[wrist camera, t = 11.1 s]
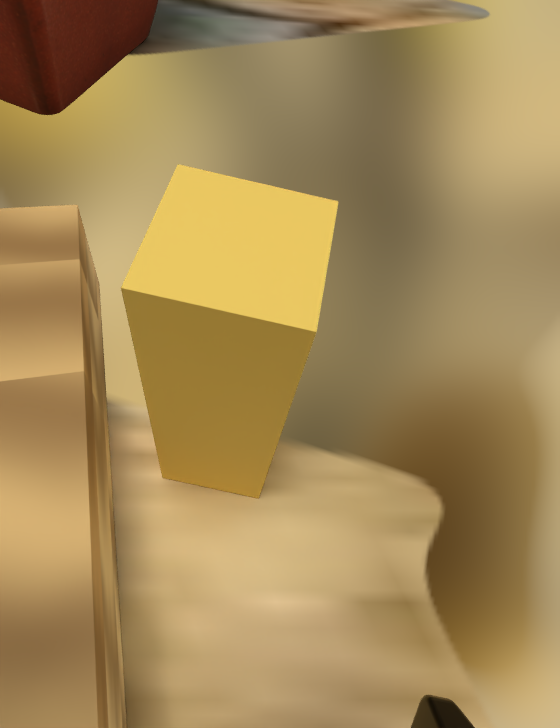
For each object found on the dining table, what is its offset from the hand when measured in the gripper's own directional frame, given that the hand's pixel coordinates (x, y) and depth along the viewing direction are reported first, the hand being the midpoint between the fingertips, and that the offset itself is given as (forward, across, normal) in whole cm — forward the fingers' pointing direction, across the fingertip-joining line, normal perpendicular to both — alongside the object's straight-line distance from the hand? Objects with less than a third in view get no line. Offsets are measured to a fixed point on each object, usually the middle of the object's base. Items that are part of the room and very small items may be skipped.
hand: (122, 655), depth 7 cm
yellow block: (+14, 0, +2) cm, 14 cm away
